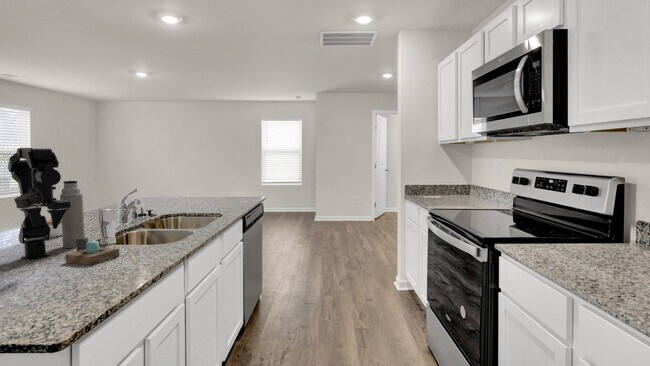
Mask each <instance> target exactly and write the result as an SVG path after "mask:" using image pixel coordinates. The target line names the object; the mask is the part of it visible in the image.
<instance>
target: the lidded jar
mask: <svg viewBox="0 0 650 366" xmlns="http://www.w3.org/2000/svg"><path fill="white" fill-rule="evenodd" d="M46 222H47V224H48V225H49V227H50V228H51V230H50V238H57V237H56V236H59V237H61V236H60V235H62V220H61V221H60V223H59V225H58V227H57V229H53V226H52V219H50V218H49V219H46Z"/></svg>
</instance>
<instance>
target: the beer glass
mask: <svg viewBox="0 0 650 366" xmlns="http://www.w3.org/2000/svg"><path fill="white" fill-rule="evenodd" d="M97 224H98V228H99V232H100V238H101V239H100V242H99V245H111V244H116V243H117V240H116V225H117V214H116V208H113V207H112V208H111V207H110V208H109V207H108V208H99V209H97Z"/></svg>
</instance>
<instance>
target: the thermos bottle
mask: <svg viewBox="0 0 650 366" xmlns="http://www.w3.org/2000/svg"><path fill="white" fill-rule="evenodd" d="M59 200H69V201H70V202H71V208H68V210H66V212H65V214H64V215H63V217H62V219H61V220H62V248H63V249H74V248H76V239H77V238H83V237H86V233H85V232H86V231H85V222H84V221H85V220H84V217H85V215H84V214H85V213H84V201H83V200H84V196H83V193H82V192H81V188H80V187H79V185H78V181H77V180H66V181H63V188H62V189H61V194H59Z"/></svg>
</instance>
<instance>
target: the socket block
mask: <svg viewBox="0 0 650 366" xmlns="http://www.w3.org/2000/svg"><path fill="white" fill-rule="evenodd" d="M118 257H120V248H117V247H116V248H113V247H103V246H99V252H98V253H95V254H87V250H86V249H85V250H81V251H77V250H76V251H74V252H71V253H67V254H65V263H67V264H75V265H85V266H86V265H87V266H94V265H97V264H101V263H103V262H106V261H110V260H112V259H116V258H118Z"/></svg>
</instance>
